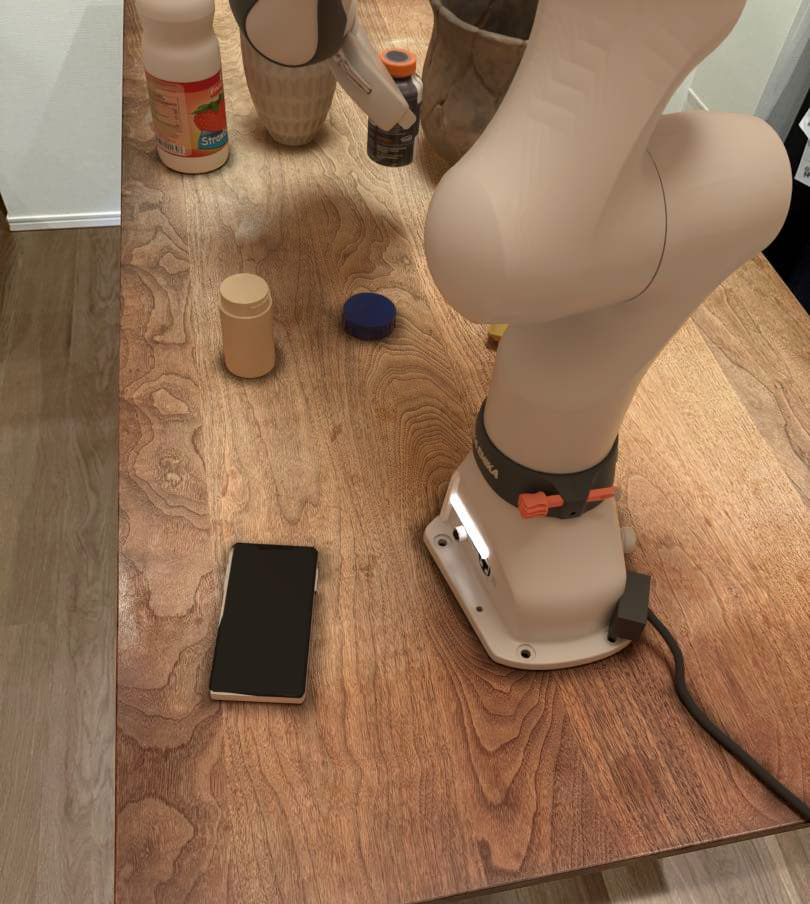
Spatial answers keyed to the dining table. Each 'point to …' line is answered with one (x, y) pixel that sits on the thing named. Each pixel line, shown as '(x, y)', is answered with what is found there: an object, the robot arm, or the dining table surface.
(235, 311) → the jar
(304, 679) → the smartphone
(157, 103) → the fruit juice
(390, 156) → the pill bottle
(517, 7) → the pot
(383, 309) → the lid
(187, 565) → the dining table surface
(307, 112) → the vase
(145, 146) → the dining table surface
